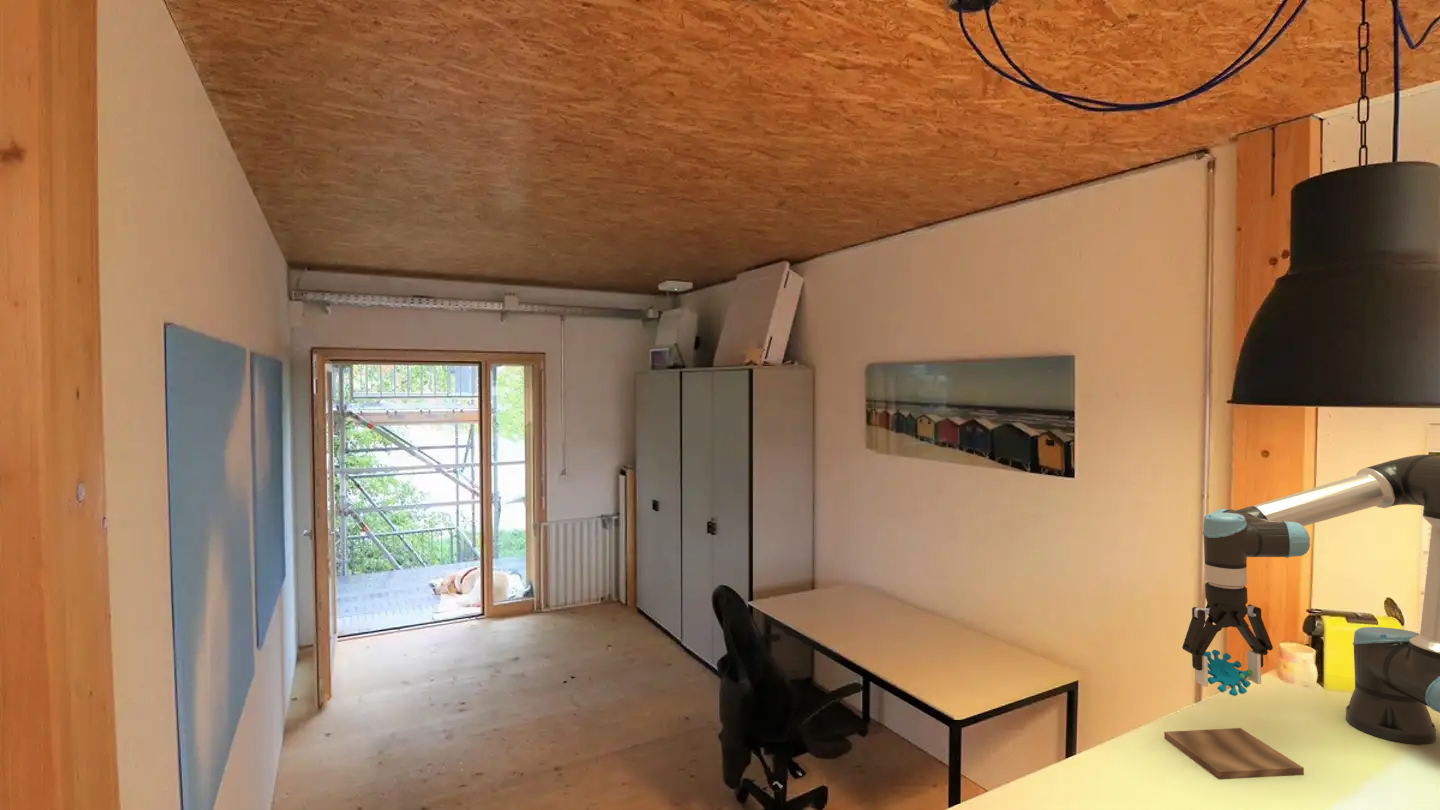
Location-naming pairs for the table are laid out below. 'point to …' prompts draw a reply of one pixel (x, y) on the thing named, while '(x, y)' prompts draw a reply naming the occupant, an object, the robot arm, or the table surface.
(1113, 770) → the table surface
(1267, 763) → the mount plate
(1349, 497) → the robot arm
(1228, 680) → the gear
